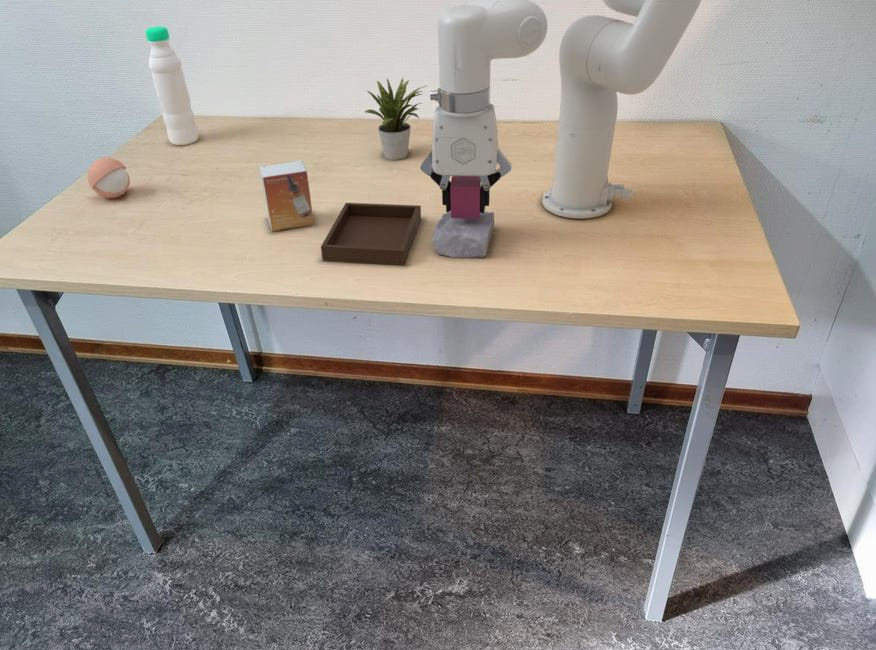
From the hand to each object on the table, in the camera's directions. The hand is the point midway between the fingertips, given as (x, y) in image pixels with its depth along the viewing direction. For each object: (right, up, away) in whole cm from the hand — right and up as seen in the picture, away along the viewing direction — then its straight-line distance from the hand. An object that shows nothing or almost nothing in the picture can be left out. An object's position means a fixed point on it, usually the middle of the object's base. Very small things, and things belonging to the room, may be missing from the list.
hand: (466, 207), depth 111 cm
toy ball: (-70, +8, +26) cm, 75 cm away
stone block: (0, -5, +4) cm, 6 cm away
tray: (-16, -4, +6) cm, 17 cm away
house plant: (-12, +19, +34) cm, 41 cm away
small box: (-31, 0, +12) cm, 34 cm away
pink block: (0, 0, +1) cm, 1 cm away
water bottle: (-63, +27, +49) cm, 85 cm away
